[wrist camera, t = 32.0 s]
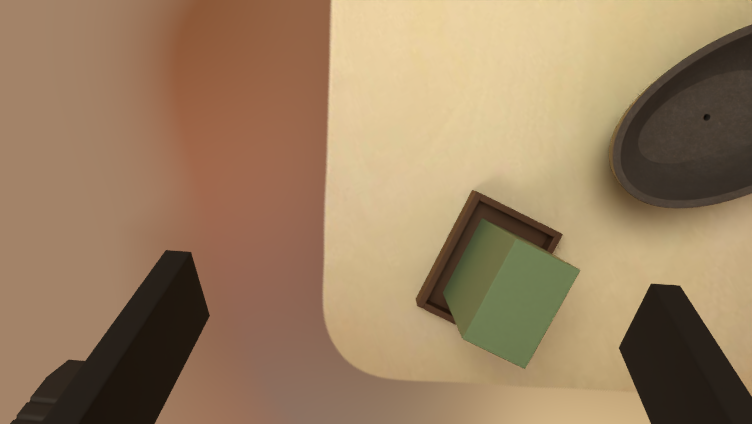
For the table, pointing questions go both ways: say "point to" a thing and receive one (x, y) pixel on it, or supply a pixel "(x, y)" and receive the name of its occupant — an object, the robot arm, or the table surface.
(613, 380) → the table surface
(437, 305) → the tray
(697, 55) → the bowl
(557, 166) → the table surface
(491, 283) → the green box
